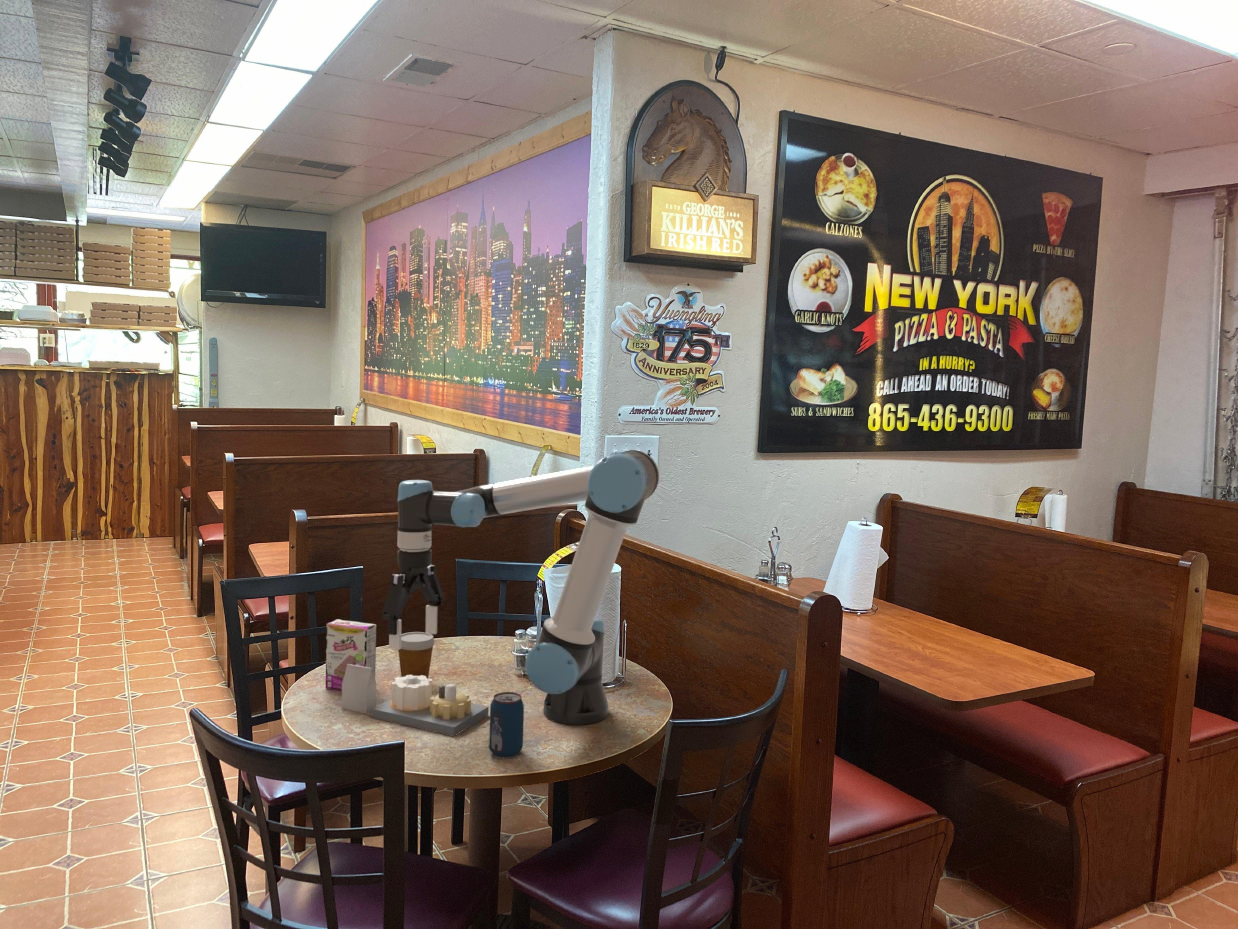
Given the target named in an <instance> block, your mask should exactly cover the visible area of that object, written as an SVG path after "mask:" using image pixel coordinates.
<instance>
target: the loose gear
mask: <svg viewBox="0 0 1238 929" xmlns="http://www.w3.org/2000/svg"><path fill="white" fill-rule="evenodd" d="M410 676H412V675H406V676H405V677H401V676H400V677H399V676H396V677H395V678H394V679H393V681H391V684H390V685H391V689H390V690H391V695H390V699H391V704H392V705H396V706H397V708H398V709H404V708H405V709H411V710H414V709H418V708H420V707H423V706H424V707H427V706H429V705H430V698H431V697H432V695H433V679H432V678H428V679H427V678H426V676H423V675H421V676H415V677H417V684H406V683H407V677H410Z"/></svg>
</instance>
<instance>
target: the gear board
mask: <svg viewBox="0 0 1238 929" xmlns="http://www.w3.org/2000/svg"><path fill="white" fill-rule="evenodd" d="M406 684H417V677H415V676H410V677H407V683H406ZM489 709H490V706H488V705H483V704H478V703H473V702H472V698H470V695H469V694H467V693H459V692H458V691H457V684H453V683H449V684H446V685H439V686H438V693H436V694H432V697H431V698H430V705H429V706H427V707H424V706H423V707H420V708H418V709H414V710H411V709H405V708H404V709H398V708H397V706H396V705H392V704H391V698H390V699H388V700H387V701H384V702H382V703H380V704H378V705H376V707H374V708H372V711H370V712H371V713H370V714H371V718H374V719H377V720H382V721H386V722H390V723H395V724H399V725H404V726H408V727H412V728H416V729H421V730H425V729H427V730H426V731H429V730H431V731H430V732H433V731H436V732H435V733H438V732H440V733H439V734H442V733H444V734H443V735H446V734H448V735H447V736H451V735H452V737H455V736H457V735H458V734H460V733H462V732H463V731H465V730H466V728H467V729H468V728H470V727H471V726H473V725H475V724H476V723H478V722H479V721H481V720H483V719H484V718H486V717H488V716H489ZM469 726H470V727H469ZM464 729H465V730H464ZM462 730H463V731H462ZM461 731H462V732H461ZM459 732H460V733H459ZM456 734H457V735H456Z"/></svg>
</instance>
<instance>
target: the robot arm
mask: <svg viewBox="0 0 1238 929" xmlns="http://www.w3.org/2000/svg"><path fill="white" fill-rule="evenodd" d="M659 479H660V472H659V467H658V466H657V463H656V461H655V460H654V459H653V458H652V457H651V456H650V455H648V454H647V453H646V452H644V451H640V450H636V449H629V450H625V451H621V452H612V453H610V454H607V455H605V456H603V457H602V458H601V459H599V460H598V461H597V462H596V463H595V464H594V465H590V466H589V465H588V466H584V467H577V468H573V469H567V470H561V471H556V472H550V473H546V474H545V473H544V474H539V475H534V476H528V477H527V476H526V477H523V478H515V479H511V480H506V481H501V482H496V483H491V484H481V485H476V486H474V487H470V488H466V489H460V490H458V491H457V490H456V491H439V490H434V488H433V483H432V481H429V480H424V479H409V480H407V479H406V480H403V481H401V482H400V483H399V485H398V493H397V494H398V495H397V500H396V501H397V525H398V526H397V542H396V544H397V545H396V546H397V547H398V550H397V566H398V567H399V568H400V569H401V570H400V571H401V572H400V574H397V573H396V574H395V573H392V574H391V578H390V586H389V589H388V592H387V594H386V599H385V601H384V602H385V603H384V606H383V608H382V612H381V615H380V616H381V619H384V620H387V622H388V624H387V626H388V627H387V628H388V648H389V649H393V650H398V649H401V634H402V619H400V617H401V615H402V613H403V611H404V609H405V605H406V604H407V602H408V599H409V597H410V596H411V595H412V594H413V592H414V591H417V590H419V591H420V593H421V594H422V595H423V597H424V599H425V601H426V602H427V605H425V633H429V634H432V635H436V634H438V616H439V615H438V614H439V613H438V612H439V607H441V606H442V605H443V601H444V600H445V596H444V593H443V590H442V589H443V588H442V586H441V584H440V580H439V578H438V574H437V565H433V564H432V559H433V558H432V555H433V554H432V552H433V551H432V549H431V547H432V530H433V525H441V526H452V527H453V526H454V527H460V528H476V527H478V526H480V524H481V522H482V521H483V519H485V518H490V517H496V516H501V515H505V514H506V515H507V514H513V513H518V512H519V513H520V512H524V511H525V512H526V511H531V510H536V509H543V508H544V509H545V508H548V507H554V506H555V507H556V506H561V505H566V504H567V505H568V504H572V503H580V502H585V503H584V509H585V511H586V512H587V514H588V517H587V519H586V522H585V524H584V526H583V527H584V528H583V530H582V533H581V536H580V540H579V542H578V545H577V547H576V550H575V553H574V556H573V559H572V563H571V565H570V569H569V571H568V574H567V577H566V580H565V582H564V586H563V589H562V591H561V594H560V597H559V601H558V603H557V606H556V609H555V612H554V614H553V616H551V617H549V618H546V619H545V620H544V622H543V625H542V627H541V631H540V634H539V636H538V639H537V642H536V644H534V646H532V648H530V650H529V652H528V653H527V656H526V658H525V665H524V666H525V670H526V671H525V672H526V675H527V676H528V679H529V681H530V683H531V684H533V686H534V687H535V688H537V689H538V690H539V691H541V692H544V693H545V694H546V696H545V697H544V702H543V708H542V709H543V710H542V712H543V715H544V716H545V717H546V718H547V719H549V720H551V721H554V722H556V723H559V724H565V725H578V726H579V725H590V724H596V723H598V722H601V721H603V720H605V719H606V718H607V716H608V715H609V703H608V700H607V695H606V692H605V688H604V684H603V663H604V659H603V658H604V642H605V641H604V639H605V636H604V635H605V625H604V624H605V623H604V621H603V620H602V619H601V618H600V617H597V614H598V610H599V608H600V605H601V602H602V599H603V598H604V593H605V590H606V589H607V586H608V583H609V580H610V577H611V574H612V572H613V570H614V566H615V563H616V560H617V557H618V554H619V552H620V548H621V546H622V543H623V541H624V537H625V535H626V531H627V529H629V528H631V527H632V526H635V525H637V522H638V520H639V516H640V514H641V512H642V509H643V506H644V503H645V501H646V500H647V499H649V498H650V497H651V496H652V495H653V494H654V493H655V491H656V490H657V488H658V486H659V481H660V480H659Z"/></svg>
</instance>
